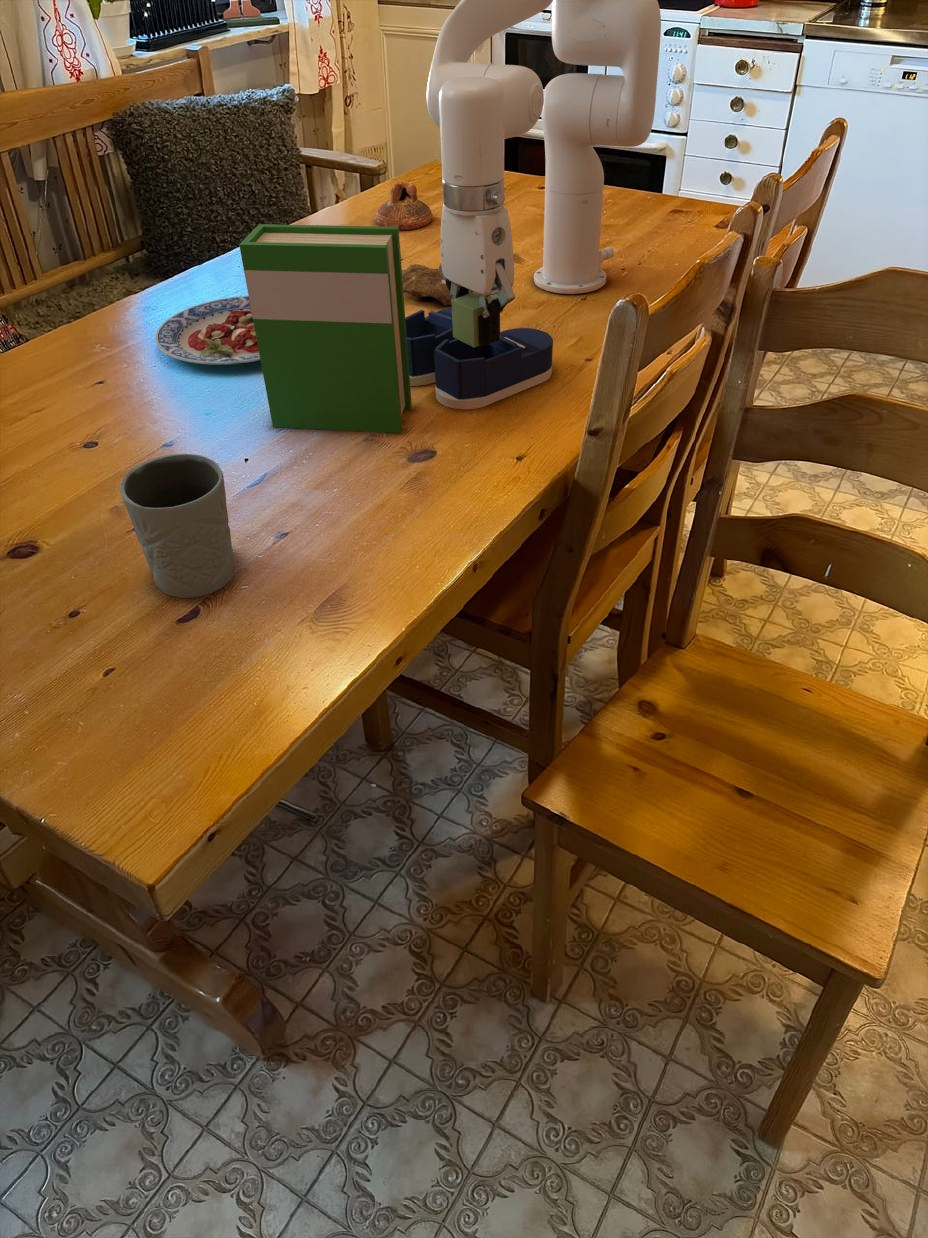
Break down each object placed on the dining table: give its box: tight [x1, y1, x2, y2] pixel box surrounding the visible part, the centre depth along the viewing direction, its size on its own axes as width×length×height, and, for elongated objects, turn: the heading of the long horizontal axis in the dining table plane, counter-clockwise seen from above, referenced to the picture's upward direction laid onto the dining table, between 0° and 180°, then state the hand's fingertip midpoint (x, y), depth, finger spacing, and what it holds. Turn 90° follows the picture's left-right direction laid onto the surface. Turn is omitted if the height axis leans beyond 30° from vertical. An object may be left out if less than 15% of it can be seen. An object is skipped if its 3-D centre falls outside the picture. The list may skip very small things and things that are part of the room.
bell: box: [374, 181, 433, 231], centre depth 185 cm, size 12×12×7 cm
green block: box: [451, 291, 493, 347], centre depth 123 cm, size 5×5×5 cm
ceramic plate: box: [154, 295, 261, 365], centre depth 144 cm, size 26×26×3 cm
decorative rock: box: [402, 263, 452, 306], centre depth 156 cm, size 11×4×15 cm
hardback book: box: [238, 223, 413, 434], centre depth 117 cm, size 18×7×24 cm, turn 81°
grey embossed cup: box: [119, 453, 236, 599], centre depth 95 cm, size 10×10×12 cm
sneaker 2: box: [434, 327, 554, 411], centre depth 129 cm, size 19×9×7 cm, turn 128°
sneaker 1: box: [405, 306, 456, 387], centre depth 135 cm, size 19×9×7 cm, turn 139°
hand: (476, 334), depth 124 cm, fingers closed on green block, 4 cm apart
